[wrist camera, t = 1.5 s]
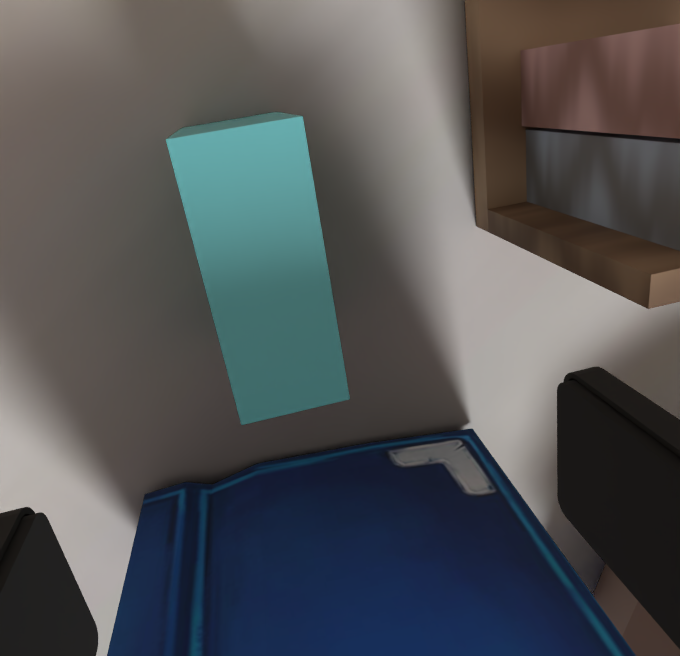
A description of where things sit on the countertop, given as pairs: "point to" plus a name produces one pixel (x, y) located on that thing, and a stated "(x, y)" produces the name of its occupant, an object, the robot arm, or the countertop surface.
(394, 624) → the book
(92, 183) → the countertop surface
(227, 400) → the countertop surface
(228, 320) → the teal book
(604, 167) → the shelf
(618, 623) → the brown bowl
